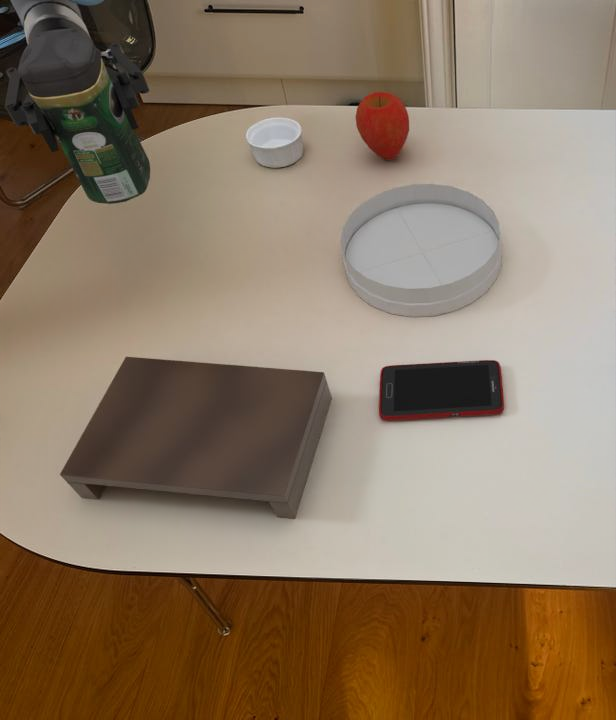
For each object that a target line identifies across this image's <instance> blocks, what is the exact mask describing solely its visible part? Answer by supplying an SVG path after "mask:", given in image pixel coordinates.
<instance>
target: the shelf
mask: <svg viewBox="0 0 616 720" xmlns="http://www.w3.org/2000/svg"><path fill="white" fill-rule="evenodd" d="M332 399H333V397H332V393H331V390H330V387H329V384H328V381H327V377H326V374H325V372H324V371H313V370H301V369H289V368H288V369H287V368H277V367H262V366H250V365H239V364H225V363H212V362H201V361H185V360H177V359H176V360H175V359H162V358H150V357H136V356H125V357H124V359H123V361H122V362H121V364H120V366H119V368H118V370H117V372H116V374H115V375H114V377H113V379H112V381H111V382H110V384H109V386H108V388H107V389H106V391H105V393H104V394H103V397H102V399H101V400H100V402H99V403H98V406H97V407H96V409H95V410H94V413H93V414H92V416H91V418H90V420H89V422H88V423H87V425H86V427H85V428H84V430H83V432H82V434H81V435H80V438H79V439H78V442H77V443H76V444H75V447H74V448H73V450H72V452H71V454H70V455H69V457H68V458H67V461H66V463H65V464H64V466H63V468H62V470H61V471H60V473H59V475H60V477H61V478H62V479H63V480H64V481H65V482H66V483H67V485H69V486H70V488H72V490H73V491H75V493H76V494H77V495H78V496H79V497H80V498H81V499H89V500H99V499H100V497H101V495H102V494H103V491H104V490H105V487H107V486H108V487H117V488H128V489H138V490H149V491H160V492H161V491H162V492H171V493H181V494H191V495H199V496H200V495H201V496H212V497H220V498H221V497H222V498H223V497H224V498H232V499H242V500H243V499H244V500H254V501H261V502H268V503H269V504H270V506H271V509H272V511H273V512H274V514H275V516H276V517H277V518H283V519H285V518H286V519H296V516H297V514H298V510H299V507H300V503H301V500H302V497H303V493H304V491H305V487H306V483H307V480H308V477H309V474H310V470H311V467H312V464H313V461H314V457H315V454H316V451H317V448H318V444H319V442H320V438H321V434H322V431H323V428H324V425H325V421H326V418H327V415H328V412H329V409H330V406H331V402H332Z"/></svg>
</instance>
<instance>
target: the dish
mask: <svg viewBox="0 0 616 720" xmlns="http://www.w3.org/2000/svg"><path fill="white" fill-rule="evenodd" d="M500 229H501V228H500V222H499V220H498V218H497V214H495V211H494V210H493V209H492V208H491V207H490V205H488V204H487V203H486V202H485V200H483V199H482V198H480V197H478V196H476V195H475V194H473V193H472V192H470V191H468V190H464V189H461V188H458V187H455V186H452V185H444V184H437V183H418V184H417V183H415V184H414V183H413V184H408V185H403V186H398V187H393V188H390V189H388V190H386V191H383V192H380V193H377V194H376V195H374V196H372V197H370V198H369V199H367V200H365V201H364V202H362V203H361V204H360V205H358V207H357V208H355V210H354V211H352V213H350V214H349V216H348V218H347V220H346V221H345V224H344V225H343V227H342V230H341V238H340V245H341V249H342V253H343V254H342V261H343V262H342V263H343V265H344V269H345V272H346V276H347V280H348V284H349V285H350V287H351V288H352V290H353V291H354V292H355V294H356V295H357V296H358V297H359V298H360V299H362V300H363V301H364V302H366V303H367V304H368V305H370V306H371V307H373V308H375V309H378V310H381V311H383V312H386V313H388V314H391V315H397V316H404V317H410V318H414V317H417V318H418V317H419V318H420V317H434V316H435V317H436V316H440V315H444V314H449V313H453V312H455V311H457V310H460V309H463V308H464V307H466V306H468V305H471V304H473V303H474V302H476V301H477V300H478V299H479V298H481V297H482V296H484V295H485V294H487V292H488V291H489V290H490V288H491V287H492V286H493V284H494V283H495V282H496V280H497V279H498V276H499V273H500V270H501V267H502V254H503V253H502V252H503V251H502V238H501V231H500Z"/></svg>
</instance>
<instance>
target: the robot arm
mask: <svg viewBox="0 0 616 720" xmlns="http://www.w3.org/2000/svg"><path fill="white" fill-rule="evenodd" d="M104 1H105V0H10V3H11V4H12V6H13V8H14V10H15V12H16V14H17V17H18V18H19V20H20V22H21V25H22V28H23V31H24V35H25V40H26V43H27V45H28V44H29V43H30V42H31V41H32V40H33V39H34V38H35V37H37V34H38V33H39V32H45V31H52V30H60V29H69V28H74V29H76V30H77V31H79V32H82V33H84V34H85V35H87V36H88V37H89V38H91V36H90V33H89V30H88V28H87V25H86V24H85V22H84V19H83V17H82V14H81V10H80V7H79V5H81V6H95V5H96V6H97V5H99V4H101V3H103V2H104ZM97 50H98V52H99V54H100V56H101V58H102V60H103V63H104V65H105V64H106V63H108V64H109V65H110V66H112V67H113V69H112V68H110V67H108V66H107V65H105V68H106V70H107V73H108V75H109V77H110V80H111V82H112V84H113V87H114V89H115V91H116V94H117V96H118V98H119V101H120V103H121V106H122V108H123V110H124V112H125V115H126V117H127V119H128V121H129V124H130V126H131V128H132V130H133V129H134V130H137V129H139V124H138V122H137V120H136V118H135V115H134V114H133V111H132V110H135V109H138V108H140V105H141V104H140V102H139V99H138V97H137V94H138V93H139V94H142V95H143V94H148V93H149V92H150V89H149V85H148V83H147V80H146V78H145V75H144V73H143V71H142V69H140V68H139V66H137V65H136V64H135V63H134V62H133V61H132V60H131V59H130V58H129V57H128V56H127V55H126V54H125V53H124V50H123V48H122V45H121V44H120V42H113V43H111V44H110V45H109V48H107V49H106V50H105V51H101V50H100V49H99V48H97ZM114 69H115V70H114ZM116 70H118V71H116ZM5 73H6V75H7V76H8V78H9V80H8V86H7V92H6V97H5V101H4V103H5V104H4V108H5V109H6V111H7V113H8V115H9V117H10V118H11V120H12V121H13V123H14V125H15V126H16V127H23V126H26V125H27V124H28V126H29V127H30V129H31V131H32V132H33V134H34V135H36V136H38V135H42V137H43V139H44V140H45V142H46V144H47V146H48V148H49V150H50V151H51V153H56V152H59V151H60V148H59V145H58V142H57V141H58V140H57V138H56V136H55V134H54V132H53V130H52V129H51V127H50V125H49V123H48V121H47V120H46V118H45V116H44V114H43V113H42V111H41V110H40V108H39V106H38V105H37V104H36V102H35V101H34V100H33V99H32V97H31V96H30V94H29V92H28V90H27V88H26V86H25V84H24V82H23V80H22V78H21V77H20V75H19V73H18V68H16V67H10V68H7V69H6V70H5Z"/></svg>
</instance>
